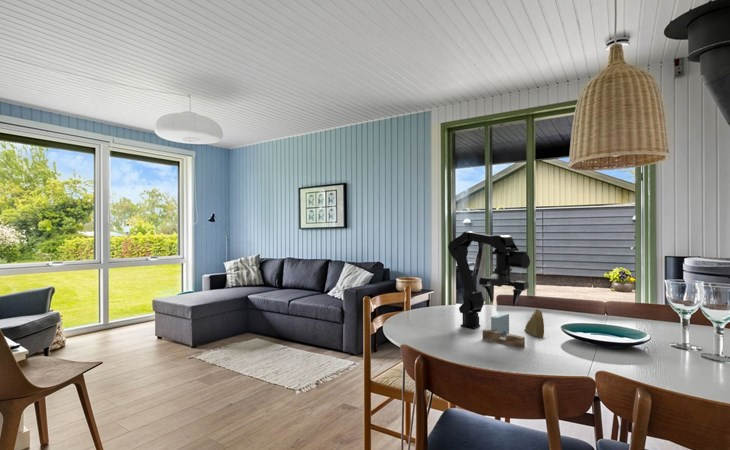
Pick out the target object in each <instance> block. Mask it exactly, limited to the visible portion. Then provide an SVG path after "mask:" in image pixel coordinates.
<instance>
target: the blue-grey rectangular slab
mask: <svg viewBox="0 0 730 450" xmlns="http://www.w3.org/2000/svg"><path fill="white" fill-rule="evenodd" d="M490 330H494V331H498V332H500V337H502V335H505V336H506V335H507V334H510V313H506V312H502V313H498V314H496V315H492V316H490Z"/></svg>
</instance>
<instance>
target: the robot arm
mask: <svg viewBox="0 0 730 450" xmlns="http://www.w3.org/2000/svg"><path fill="white" fill-rule="evenodd" d="M472 242H474V243H475V242H476V243H480V244H485V245H488V246H490V247H491V248H492V249H493V248H494V250H493V251H491V255H495V268H494V271H493V273H492V274H491V275H490V276H482V277H479V280H478V285H480V286H481V287H483V288H484V289H485V290H486V292H487V294H488V298H489V300H490V303H493V302H494V299H495V297H494V296H495V295H494V293H495V286H496V287H503V286H506V287H513V289H512V293H513V297H512V307H515V306H516V304H517V302H518V300H519V299H520V296H521V294H522V292H523V291H526V290H527V289H529V288H530V287H529V286H530V285H529V282H528V281H526V280H516V281H513V280H512V279H513V278H512V277H511V276H512V275H511V274H512V273H511V272H512V270H513V269H512V268H516V269H524V270H525V269H528V268H529V267H530V264H531V259H530V256H529V255H528V253H527V250H522V251H521V250H519V248H518V246H517V244H515V241H514V239H513V236H511V235H505V234H504V235H492V234H485V233H480V232H476V231H475V232H474V231H471V230H470V231H464V232H462V233H461V234H460V235H459V236H457V237H456V238H454V239H453V240H451V241H450V242H449V243H448V245H447V248H448V252H449V253H450V256H451V257H452V259H454V260H455V262H456V266H457V269H458V273H459V277H460V280H461V283H462V287H463V295H462V301H463V303H462V304H461V305H460V306H459V307H458V310H459V313H460V314H462V316H461V317H462V324H460V327H464V328H470V329H475V328H479V327H481V324H480V316H479V313H481V312H482V310H483V309H482V308H483V307H484V305H485V303H484V302H485V299H484V296H483V292H482V291H478V290H477V288H476V285H475V282H474V278H473V276H472V271H471V268H470V266H469V261H468V254H469V247H470V246H471V244H472Z"/></svg>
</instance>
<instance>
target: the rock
mask: <svg viewBox="0 0 730 450" xmlns="http://www.w3.org/2000/svg"><path fill="white" fill-rule="evenodd" d="M543 317H544V316H543V312H542V311H541V310H540V309H535V311H534V312H533V313H532V315H531V316H530V318H529V319H528V321H527V323H526V325H525V328H524V331H525V333H528V334H529V335H531V336H535V337H537V338H544V336H545V335H544V334H545V325H544V324H545V323H544V318H543Z"/></svg>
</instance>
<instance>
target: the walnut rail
mask: <svg viewBox="0 0 730 450" xmlns="http://www.w3.org/2000/svg"><path fill="white" fill-rule="evenodd" d="M481 331H482V333H481V334H482V340H486V341H490V342H494V343H495V342H496V343H498V344H499V343H500V344H503V345H508V346H512V347H516V348H520V349H522V348H525V346H526V342H525V341H526V338H525V336H522V335H516V334H512V333H508V334H506V335H505V337H502V336H501V337H500V332H498V331H494V330H491V329H487V328H483V329H482V330H481Z"/></svg>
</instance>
